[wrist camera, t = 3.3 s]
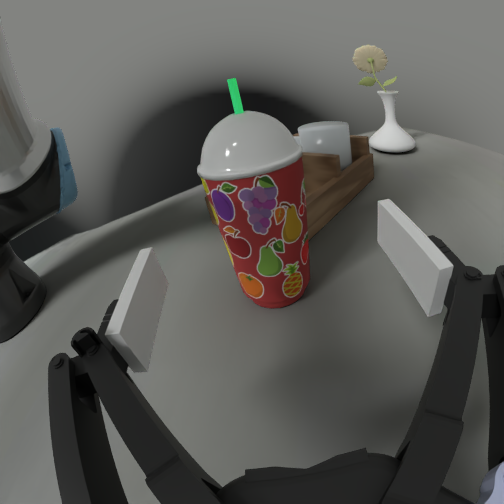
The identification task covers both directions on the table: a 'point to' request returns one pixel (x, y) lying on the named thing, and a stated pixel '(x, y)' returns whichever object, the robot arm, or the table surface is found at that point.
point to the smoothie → (259, 203)
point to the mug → (326, 140)
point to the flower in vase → (390, 132)
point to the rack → (331, 182)
